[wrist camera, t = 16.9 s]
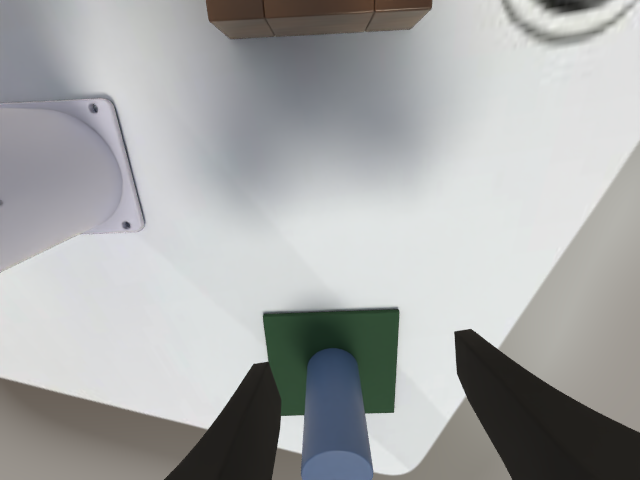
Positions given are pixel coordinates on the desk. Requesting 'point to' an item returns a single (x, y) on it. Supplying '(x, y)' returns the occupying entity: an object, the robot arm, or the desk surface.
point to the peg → (335, 420)
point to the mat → (334, 332)
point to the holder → (312, 16)
